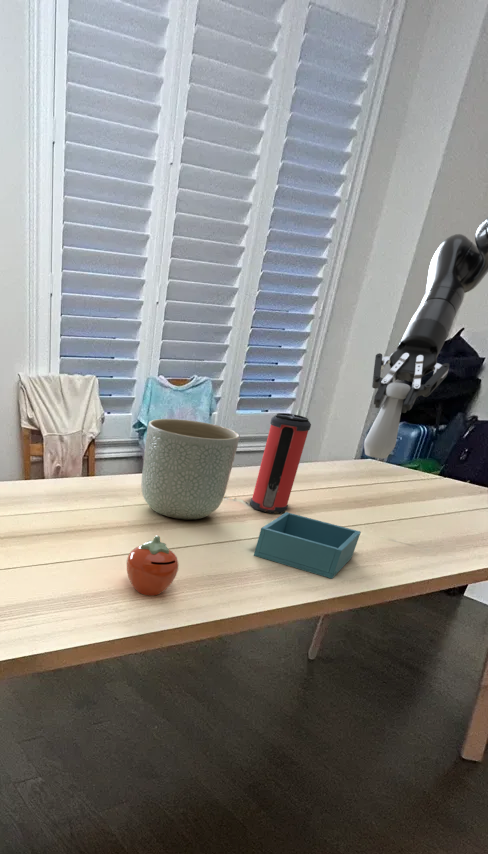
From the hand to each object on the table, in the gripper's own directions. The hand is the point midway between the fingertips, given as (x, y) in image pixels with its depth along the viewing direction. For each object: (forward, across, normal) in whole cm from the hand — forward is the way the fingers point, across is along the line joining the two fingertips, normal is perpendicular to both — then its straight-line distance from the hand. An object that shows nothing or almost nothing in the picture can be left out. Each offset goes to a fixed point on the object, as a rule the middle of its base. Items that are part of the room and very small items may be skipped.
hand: (390, 406), depth 120 cm
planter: (+34, -28, -3) cm, 44 cm away
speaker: (+20, -16, +11) cm, 28 cm away
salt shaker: (+5, 0, +8) cm, 9 cm away
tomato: (+61, -14, -30) cm, 70 cm away
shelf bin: (+37, -1, -6) cm, 38 cm away
